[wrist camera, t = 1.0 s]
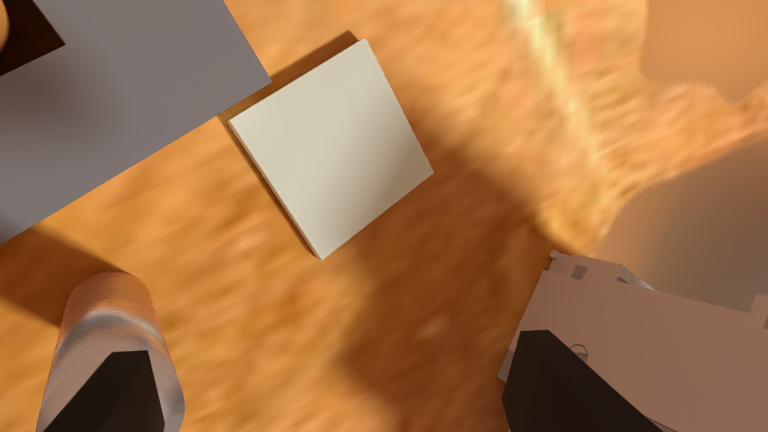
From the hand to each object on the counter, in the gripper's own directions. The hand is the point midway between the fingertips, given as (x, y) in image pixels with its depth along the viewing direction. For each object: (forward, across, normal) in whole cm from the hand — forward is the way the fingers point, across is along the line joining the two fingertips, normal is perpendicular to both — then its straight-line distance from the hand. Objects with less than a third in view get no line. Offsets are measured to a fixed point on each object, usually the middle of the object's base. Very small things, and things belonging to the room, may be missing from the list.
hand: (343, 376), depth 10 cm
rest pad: (+14, -1, +1) cm, 14 cm away
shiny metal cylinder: (+8, +8, +5) cm, 13 cm away
